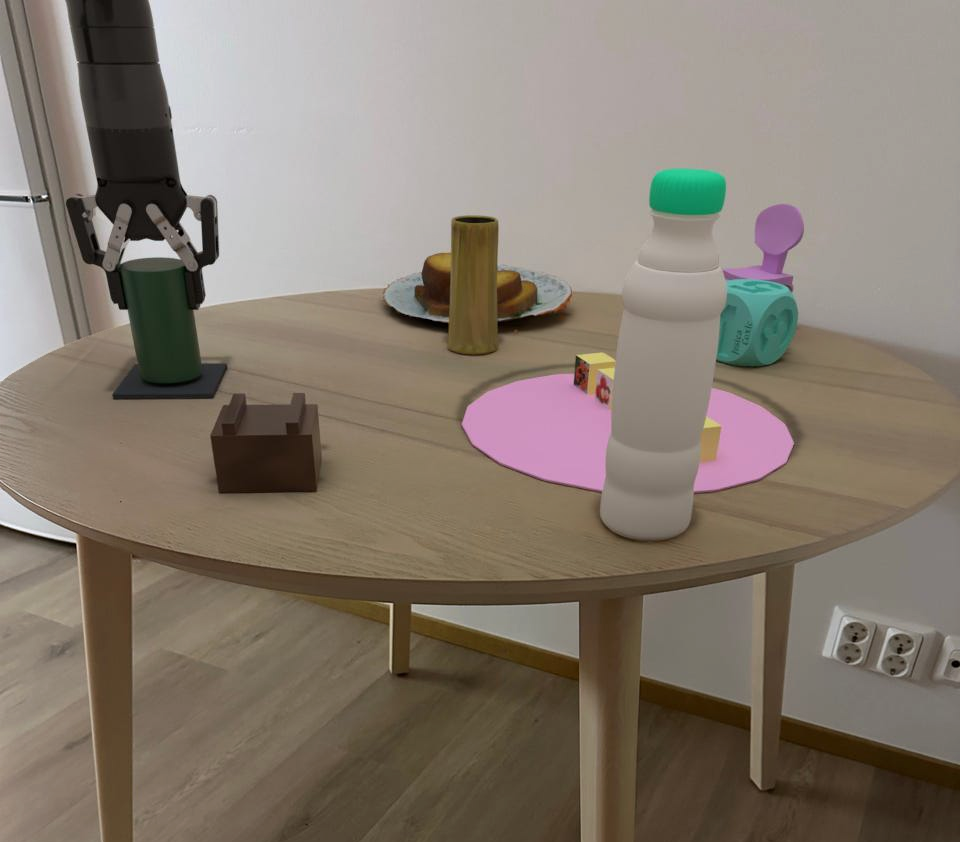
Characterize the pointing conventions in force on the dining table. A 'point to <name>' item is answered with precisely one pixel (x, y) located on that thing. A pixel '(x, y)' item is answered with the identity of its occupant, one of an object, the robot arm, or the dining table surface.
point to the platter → (587, 426)
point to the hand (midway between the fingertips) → (160, 307)
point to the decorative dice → (756, 322)
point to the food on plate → (515, 292)
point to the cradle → (267, 446)
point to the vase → (473, 285)
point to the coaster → (171, 385)
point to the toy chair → (773, 245)
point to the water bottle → (665, 360)
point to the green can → (161, 319)
